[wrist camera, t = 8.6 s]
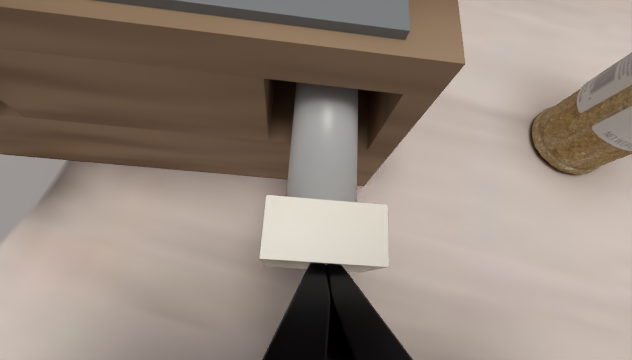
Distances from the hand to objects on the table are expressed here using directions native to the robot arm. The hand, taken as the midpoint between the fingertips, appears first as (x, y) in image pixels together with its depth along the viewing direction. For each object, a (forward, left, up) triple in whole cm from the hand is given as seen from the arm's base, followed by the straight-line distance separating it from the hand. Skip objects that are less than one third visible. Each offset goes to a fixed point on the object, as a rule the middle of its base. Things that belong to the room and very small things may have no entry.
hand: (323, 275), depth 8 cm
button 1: (+5, 0, -2) cm, 6 cm away
